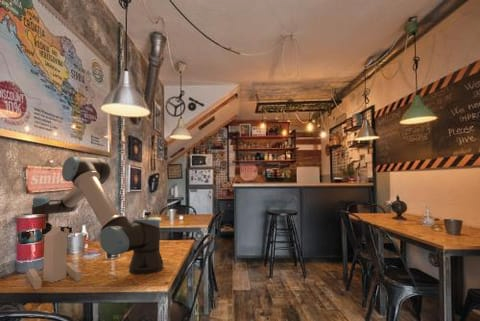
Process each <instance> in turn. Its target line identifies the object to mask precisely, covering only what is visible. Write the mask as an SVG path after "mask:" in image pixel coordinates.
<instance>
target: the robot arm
mask: <svg viewBox="0 0 480 321" xmlns="http://www.w3.org/2000/svg"><path fill="white" fill-rule="evenodd" d="M111 170H112V169H111V167H110V165H109V163H108V162H107V160H105V159H103V158H99V157H88V156H87V157H86V156H78V155H77V156H70V157H67V158H66V160H64V161H63V165H62V170H61V174H62V178H63V180H64V181H66V182H68V183H69V182H72V184H73V186H74V187H73V188H72V189H71V190H70V191H69V192H68V193H67V194H65V196H64V197H62V198H60V199H50V197H49V196H35V197H33V198H32V201H33V205H32V204H31V215H32V214H46V228H45V229H42V234H47V233H48V232H49V231H51V228H52V226H53V225H52V224H51V223H50V222H49V216H50V215H52V214H65V213H71V212H72V213H73V212H74V211H76V210H77V207H78V203H80V202H81V201H82V200H83V199H86V202H88V205H89V206H90V208H91V210H92V212H93V213H94V215H95V216H96V219H97V220H98V222H99V224H100V225H101V228H100V234H99V240H100V241H99V244H100V247H101V249H102V250H103V251H104V252H105V253H106V254H108V255H113V256H115V255H123V254H125V253H128V252H131V251H132V252H133V253H132V256H131V260H130V262H129V265H128V272H129V273H131V274H133V275H147V274H153V273H157V272H160V271H162V270H163V269H164V261H163V258H162V255H161V251H160V248H161V247H160V243H161V241H160V238H161V236H160V235H161V234H160V233H161V230H160V229H161V227H160V220H158V219H155V218H154V219H152V218H151V219H149V218H133V221H132V222H130V221H129V219H128V218H127V216H125V215H121V214H120V211H119V210H118V208H117V207H116V205H115V203H114V202H113V201H112V199H111V197H110V196H109V194H108V192H107V190H106V189H105V188H104V186H103V184H104V183H106V182H107V181H108V179H109V178H110V176H111ZM57 227H61V231H63V232H65V233H67V237H68V236H70V234H72V233H73V226H71V227H70V226H61V225H59V226H58V225H57ZM20 238H21V239H24V238H25V240H31V241H34V240H35V239H34V238H35V236H34V231H29V232H24V231H22V232H20Z"/></svg>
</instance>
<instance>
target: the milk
mask: <svg viewBox="0 0 480 321" xmlns="http://www.w3.org/2000/svg"><path fill="white" fill-rule="evenodd" d="M61 227H62V226H61ZM61 227H58V226H53V225H52V228H51V231H49V232H48V233H47V234H45V235H44V238H43V239H44V240H43V241H44V242H43V245H44V246H43V248H44V249H43V273H42V274H43V279H42V281H43V282H47V281H49V282H48V283H55V282H54V281H56V282H58V280H59V281H61V280H65V279H66V278H67V274H66V263H67V250H68V249H67V248H68V244H67V243H68V242H67V241H68V236H67V233H65V232H63V231H61Z"/></svg>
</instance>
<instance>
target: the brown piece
mask: <svg viewBox="0 0 480 321" xmlns="http://www.w3.org/2000/svg"><path fill="white" fill-rule="evenodd" d="M66 275H69V276H70V277H71V278H72V280H75V282H79V281H82V270H81V269H79V268H78V267H77V266H75V265H74V264H73V263H72V262H70V261H69V262H66ZM27 279H28V280H29V282H30V284H31V286H32V288H33V289H34V290H35V291H37V290H41V289H42V281H43V273H39V274H38V272H37V270H36V269H35V268H30V269H28V271H27Z"/></svg>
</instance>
